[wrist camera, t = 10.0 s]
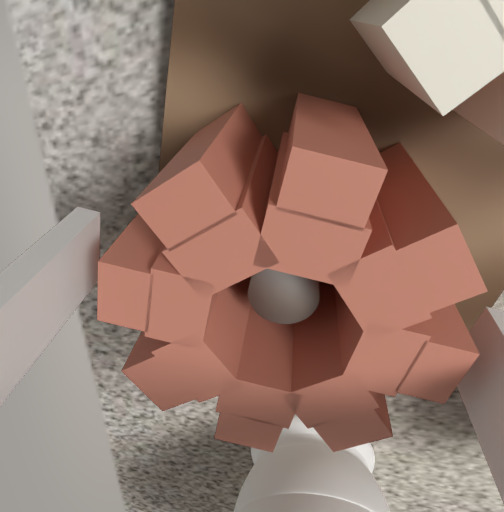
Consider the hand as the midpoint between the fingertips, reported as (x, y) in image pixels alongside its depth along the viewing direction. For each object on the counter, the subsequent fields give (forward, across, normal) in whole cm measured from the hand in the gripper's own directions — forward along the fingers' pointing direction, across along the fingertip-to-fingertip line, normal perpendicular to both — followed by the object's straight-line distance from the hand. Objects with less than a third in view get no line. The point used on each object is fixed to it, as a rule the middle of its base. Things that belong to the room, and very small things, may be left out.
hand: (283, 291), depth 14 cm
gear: (+5, 0, 0) cm, 5 cm away
